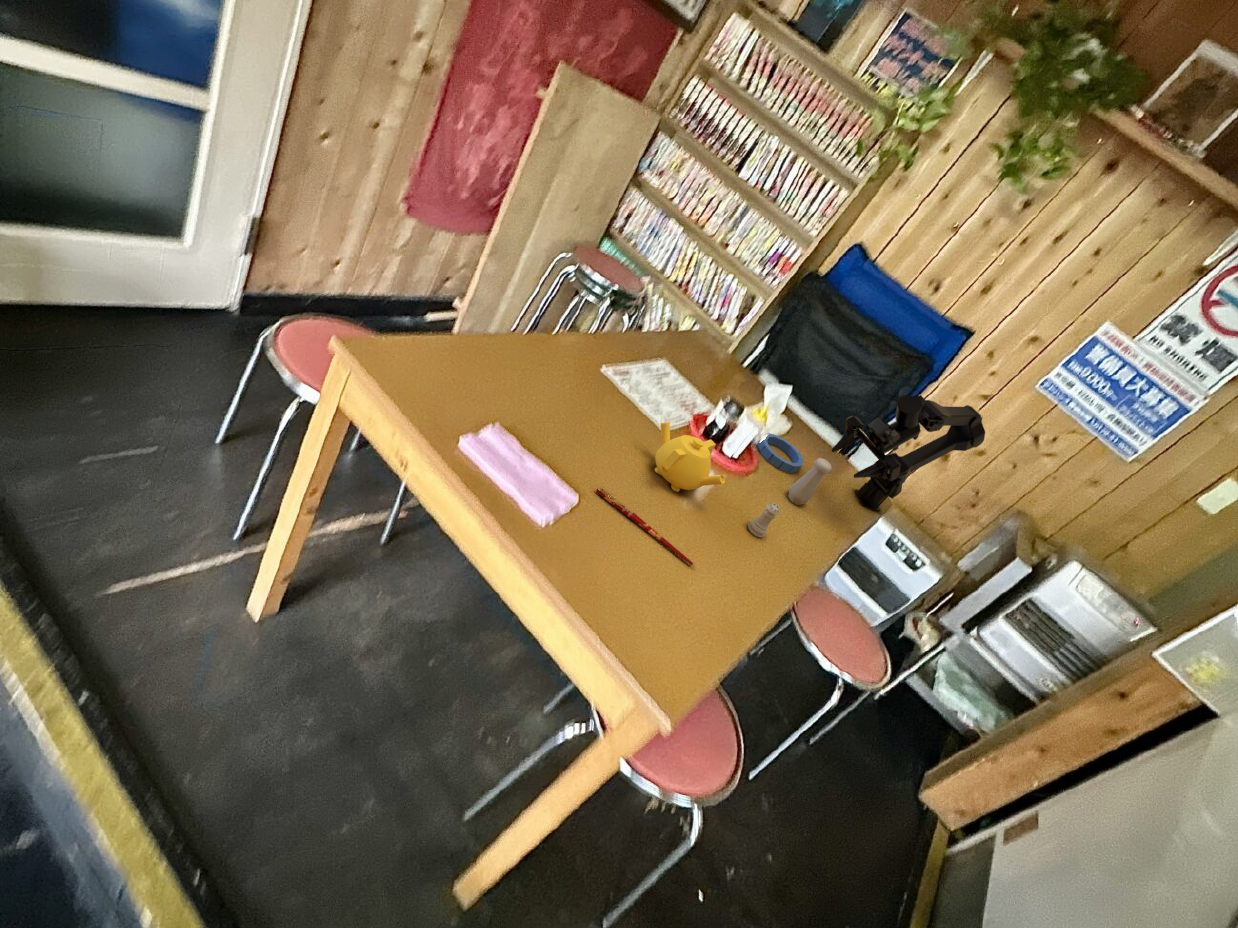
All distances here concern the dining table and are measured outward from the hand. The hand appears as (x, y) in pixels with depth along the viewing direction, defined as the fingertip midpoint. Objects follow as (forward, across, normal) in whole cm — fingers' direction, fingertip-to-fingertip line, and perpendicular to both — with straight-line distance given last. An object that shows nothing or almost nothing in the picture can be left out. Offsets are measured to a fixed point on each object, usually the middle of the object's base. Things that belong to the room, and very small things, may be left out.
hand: (842, 463), depth 186 cm
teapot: (+41, -6, -22) cm, 47 cm away
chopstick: (+54, +9, -35) cm, 65 cm away
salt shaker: (+14, 0, +4) cm, 15 cm away
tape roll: (+9, -16, +10) cm, 21 cm away
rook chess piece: (+31, +10, -12) cm, 35 cm away
